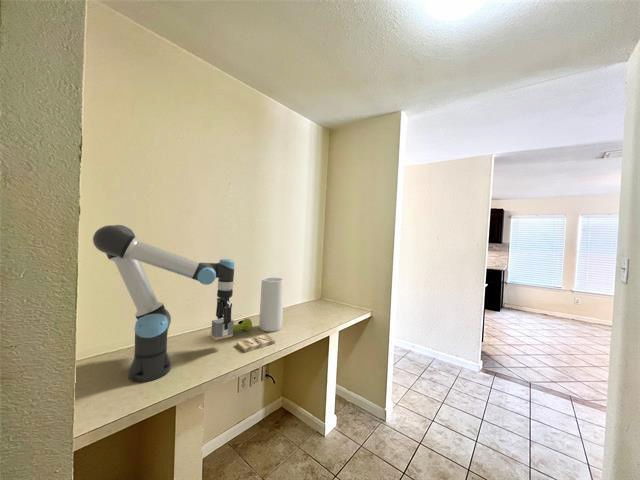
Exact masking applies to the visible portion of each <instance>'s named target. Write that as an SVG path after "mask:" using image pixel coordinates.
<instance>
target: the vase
mask: <svg viewBox="0 0 640 480" xmlns="http://www.w3.org/2000/svg"><path fill="white" fill-rule="evenodd" d="M284 280H285V279H284V278H282V277H275V276H274V277H273V276H272V277H271V276H269V277H262V278H261V285H260V287H261V289H260V303H259V305H260V307H259V319H258V321H259V322H258V323H259V329H260V330H261V331H262V332H270V333H272V332H277V331H280V330H281V329H282V327H283V326H282V325H283V314H284V313H283V312H284V311H283V308H284V286H285V285H284V282H285V281H284Z"/></svg>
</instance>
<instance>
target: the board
mask: <svg viewBox="0 0 640 480" xmlns="http://www.w3.org/2000/svg"><path fill="white" fill-rule="evenodd" d="M275 344H276V339H275V338H273V337H271V336H270V335H268V334H266V333H265V334H261V335H258V336H254V337H253V336H252V337H249V338H246V339H243V340H239V341H236V346H237V347H238V348H239V349H240V350H241V351H243V352H244V353H248V352H251V351H255V350H257V349H262V348H265V347H268V346H271V345H275Z"/></svg>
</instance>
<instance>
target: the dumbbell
mask: <svg viewBox="0 0 640 480" xmlns="http://www.w3.org/2000/svg"><path fill="white" fill-rule="evenodd" d="M252 327H253V323H252V320H251V319H250V318H244V319H243V320H242V322H241V323H238V324H234V325H233V332H234V331H238V330H244V331H245V332H251V329H252Z"/></svg>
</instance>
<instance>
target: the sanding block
mask: <svg viewBox="0 0 640 480" xmlns="http://www.w3.org/2000/svg"><path fill="white" fill-rule="evenodd" d="M223 322H224V319H213V320H211V330H210V331H211V332H210V336H211V337H212V338H213V339H214V340H222V339H225V338H231V337H233V336H234V331H233V325H235V320H233V319H232V318H231V323H228V335H225V336H222V327H223V324H222V323H223Z"/></svg>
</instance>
